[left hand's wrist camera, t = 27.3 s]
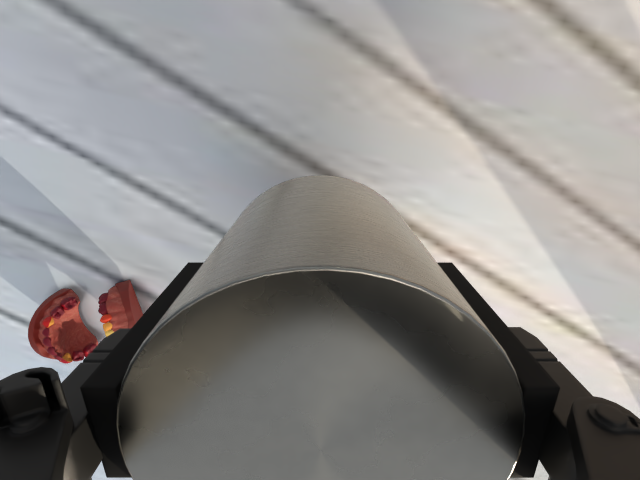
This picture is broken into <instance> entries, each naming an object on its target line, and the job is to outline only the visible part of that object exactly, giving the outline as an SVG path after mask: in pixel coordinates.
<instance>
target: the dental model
mask: <svg viewBox="0 0 640 480" xmlns="http://www.w3.org/2000/svg"><path fill="white" fill-rule="evenodd" d="M115 285H116V286H114V287H112V288H111V289H109V291H108V293H104V294H102V295H101V296H100V297H99V302H98V303H99V304H100V305H99V307H100V308H99V310H98V311H99V313H101V314H102V315H103V316H102V317H101V319H100V321H101V322H102V323H105V324H103V329H104V331H106V332H105V335H106V337H107V336H109V335H110V334H112V333H114V332H115V331H117V330H118V329H120V328H132V327H133V326H134V325H135V324H136V322H137V321H138V320H139V319H140V318H141V317H142V316H143V313H142V310H141V307H140V305H139V302H138V299H137V297H136V294H135V292H134V289H133V287H132V284H131V281H130V280H127V281H124V282H120V283H116V284H115ZM79 303H80V300H79V297H78V296H77V295H76V294H75V292H74V291H73V290H72V289H65V288H63V289H61V290H59V291H57V292H56V293H54V294H53V295H51V296H50V297H48V298H47V299H46V300H45V301H44V302H43V303H42V304H41V305H40V306H39V307H38V309H37V310H36V311H35V313H34V315H33V317H32V319H31V321H30V324H29V328H28V338H29V342H30V345H31V347H32V348H33V349H34V351H35V352H37V353H38V354H40V355H41V356H43V357H47V358H51V359H57V360H59V361H60V362H62V363H70V362H72V361H80V360H83V359H84V356H85V357H87V356H88V355H89V354H90V353H92V352H93V349H94V348H95V347H96V346H97V345H98V341H97V339H96V337H95V336H94V335H93V334H92V333H91V332H90V331H89V330H88V329H87V328H86V326H85V325H84V324H83V322H82V320H81V317H80V315H79V311H78V305H79ZM107 322H108V323H107ZM110 329H111V330H110Z"/></svg>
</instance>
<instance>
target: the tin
mask: <svg viewBox="0 0 640 480" xmlns="http://www.w3.org/2000/svg"><path fill="white" fill-rule="evenodd" d="M116 426H117V433H118V440H119V446H120V449H121V452H122V456H123V459H124V462H125V465H126V467H127V469H128V471H129V473H130V475H131V477H132V479H133V480H508V479H509V478H510V476H511V474H512V473H513V470H514V468H515V465H516V463H517V460H518V458H519V455H520V452H521V447H522V443H523V438H524V430H525V409H524V402H523V395H522V390H521V387H520V384H519V380H518V377H517V374H516V371H515V369H514V367H513V365H512V364H511V362H510V360H509V358H508V356H507V354H506V352H505V350H504V349H503V348H502V346H501V345H500V344H499V343H498V341H497V340H496V339H495V337H494V336H493V335H492V334H491V332H490V331H489V330H488V328H487V327H486V326H485V324H484V323H483V322H482V321H481V319H480V318H479V317H478V315H477V314H476V313H475V311H474V310H473V309H472V308H471V306H470V305H469V304H468V302H467V301H466V300H465V298H464V297H463V296H462V295H461V293H460V292H459V291H458V289H457V288H456V287H455V286H454V284H453V283H452V282H451V280H450V279H449V278H448V276H447V275H446V274H445V273H444V271H443V270H442V269H441V267H440V266H439V265H438V263H437V262H436V261H435V260H434V258H433V257H432V256H431V254H430V253H429V252H428V250H427V249H426V248H425V247H424V245H423V244H422V243H421V241H420V240H419V239H418V237H417V236H416V235H415V234H414V232H413V231H412V230H411V228H410V227H409V226H408V225H407V223H406V222H405V221H404V219H403V218H402V217H401V215H400V214H399V213H398V212H397V210H396V209H395V208H394V207H393V206H392V205H391V204H390V203H389V202H388V201H387V200H386V199H385V198H384V197H383V196H381V195H380V194H378V193H377V192H376V191H374V190H372V189H371V188H369V187H367V186H365V185H363V184H361V183H358V182H355V181H353V180H350V179H345V178H341V177H336V176H326V175H318V176H306V177H300V178H295V179H292V180H289V181H285V182H283V183H280V184H278V185H276V186H274V187H272V188H270V189H269V190H267V191H265V192H264V193H262V194H261V195H260V196H258V197H257V198H256V199H255V200H254V201H253V202H251V203H250V204H249V206H248V207H247V208H246V209H245V210H244V211H243V212H242V214H241V215H240V216H239V218H238V219H237V220H236V222H235V223H234V224H233V225H232V227H231V228H230V229H229V231H228V232H227V233H226V235H225V236H224V237H223V238H222V240H221V241H220V242H219V244H218V245H217V246H216V248H215V249H214V250H213V251H212V253H211V254H210V255H209V257H208V258H207V259H206V261H205V262H204V263H203V265H202V266H201V267H200V268H199V270H198V271H197V272H196V274H195V275H194V276H193V278H192V279H191V280H190V281H189V283H188V284H187V285H186V287H185V288H184V289H183V291H182V292H181V293H180V295H179V296H178V297H177V298H176V300H175V301H174V302H173V304H172V305H171V306H170V308H169V309H168V310H167V311H166V313H165V314H164V315H163V317H162V318H161V319H160V321H159V322H158V323H157V324H156V326H155V327H154V328H153V330H152V331H151V332H150V334H149V335H148V336H147V338H146V339H145V340H144V341H143V343H142V345H141V346H140V348H139V349H138V351H137V352H136V354H135V355H134V357H133V359H132V360H131V362H130V364H129V367H128V369H127V372H126V374H125V376H124V379H123V381H122V385H121V389H120V394H119V398H118V403H117V425H116Z"/></svg>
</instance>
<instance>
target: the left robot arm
mask: <svg viewBox="0 0 640 480" xmlns="http://www.w3.org/2000/svg"><path fill="white" fill-rule="evenodd" d="M202 265H203V263H188V264H187V265H186V266H185V267H184V268H183V269H182V271H181V272H180V273H179V274H178V275H177V276H176V278H175V279H174V280H173V281H172V282H171V283H170V284H169V286H168V287H167V288H166V289H165V290H164V291H163V292H162V294H161V295H160V296H159V297H158V298H157V299H156V301H155V302H154V303H153V304H152V305H151V306H150V307H149V309H148V310H147V311H146V312H145V313H144V314H143V316H142V317H141V318H140V319H139V320H138V321H137V322H136V324H135V325H134V326H133V327H132V328H120V329H118V330H117V331H115V332H114V333H112V334H110V335H109V336H107V337H106V338H104V339H103V340H102V341H101V342H100V343H99V344H98V345H97V346H96V347H95V348H94V349H93V352H92V353H90V354H89V355H88V356H87V357H86V358H85V359H84V360H83V363H80V364H79V365H78V366H77V367H76V368H75V369H74V371H73V372H72V373H71V374H70V375H69V376H68V377H67V378H66V379H65V380H64V381H63V382H62V383H61V381H60V378H59V375H58V372H56V371H55V370H54V369H52V368H45V367H39V368H33V369H27V370H24V371H21V372H18V373H15V374H12V375H10V376H8V377H6V378H4V379H2V380H0V480H92V478H91V477H92V475H93V473H94V472H95V470H96V469H97V467H98V465H99V464H100V462H101V461H102V463H103V466H104V470H105V473H106V476H107V477H131V475H130V473H129V471H128V469H127V467H126V465H125V462H124V459H123V456H122V452H121V449H120V446H119V440H118V433H117V426H116V425H117V403H118V398H119V394H120V389H121V385H122V381H123V379H124V376H125V374H126V372H127V369H128V367H129V364H130V362H131V360H132V359H133V357H134V355H135V354H136V352H137V351H138V349H139V348H140V346H141V345H142V343H143V341H144V340H145V339H146V338H147V336H148V335H149V334H150V332H151V331H152V330H153V328H154V327H155V326H156V324H157V323H158V322H159V321H160V319H161V318H162V317H163V315H164V314H165V313H166V311H167V310H168V309H169V308H170V306H171V305H172V304H173V302H174V301H175V300H176V298H177V297H178V296H179V295H180V293H181V292H182V291H183V289H184V288H185V287H186V285H187V284H188V283H189V281H190V280H191V279H192V278H193V276H194V275H195V274H196V272H197V271H198V270H199V268H200V267H201V266H202ZM438 265H439V266H440V267H441V269H442V270H443V271H444V273H445V274H446V275H447V276H448V278H449V279H450V280H451V282H452V283H453V284H454V286H455V287H456V288H457V289H458V291H459V292H460V293H461V295H462V296H463V297H464V298H465V300H466V301H467V302H468V304H469V305H470V306H471V308H472V309H473V310H474V311H475V313H476V314H477V315H478V317H479V318H480V319H481V321H482V322H483V323H484V324H485V326H486V327H487V328H488V330H489V331H490V332H491V334H492V335H493V336H494V337H495V339H496V340H497V341H498V343H499V344H500V345H501V346H502V348H503V349H504V350H505V352H506V354H507V356H508V358H509V360H510V362H511V364H512V365H513V367H514V369H515V371H516V374H517V377H518V380H519V384H520V387H521V390H522V395H523V402H524V409H525V430H524V438H523V443H522V447H521V452H520V455H519V458H518V460H517V463H516V465H515V468H514V470H513V473H512V474H511V476H510V477H514V478H533V477H534V474H535V471H536V467H537V464H538V461H539V460H540V462H541V463H542V465H543V466H544V468H545V470H546V471H547V473H548V474H549V478H548V480H640V419H639V418H638V417H637V416H635V415H634V414H633V413H632V412H631V411H629V410H627V409H625V408H624V407H622V406H620V405H618V404H617V403H614V402H612V401H609V400H606V399H603V398H600V397H594V396H592V395H591V394H590V393H589V392H588V391H587V389H586V388H585V387H584V386H583V385H582V384H581V383H580V382H579V381H578V380H577V379H576V378H575V377H574V376H573V375H572V374H571V373H570V372H569V371H568V370H567V369H566V368H565V366H564V365H563V364H562V363H561V362H558V361H557V358H556V357H555V356H554V355H553V354H552V353H551V352H550V351H548V349H547V348H546V347H545V346H544V345H543V344H542V342H541V341H540V340H539V339H538V338H537V337H535V336H534V335H532V334H530V333H529V332H527V331H526V330H524V329H522V328H521V327H507V326H506V324H505V323H504V322H503V321H502V320H501V319H500V318H499V316H498V315H497V314H496V313H495V312H494V311H493V309H492V308H491V307H490V306H489V305H488V304H487V303H486V301H485V300H484V299H483V298H482V297H481V296H480V295H479V293H478V292H477V291H476V290H475V289H474V288H473V286H472V285H471V284H470V283H469V282H468V281H467V280H466V278H465V277H464V276H463V275H462V274H461V273H460V272H459V270H458V269H457V268H456V267H455V266H454V265H453V263H438Z"/></svg>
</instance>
